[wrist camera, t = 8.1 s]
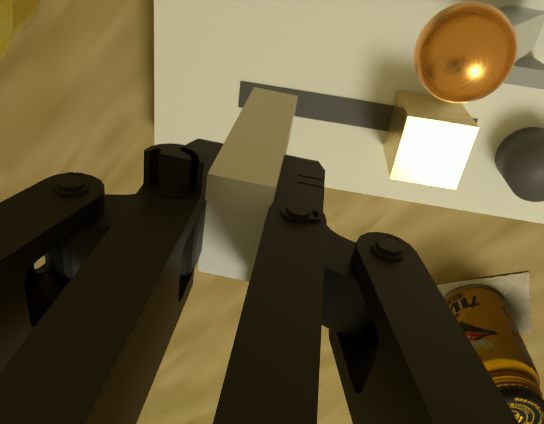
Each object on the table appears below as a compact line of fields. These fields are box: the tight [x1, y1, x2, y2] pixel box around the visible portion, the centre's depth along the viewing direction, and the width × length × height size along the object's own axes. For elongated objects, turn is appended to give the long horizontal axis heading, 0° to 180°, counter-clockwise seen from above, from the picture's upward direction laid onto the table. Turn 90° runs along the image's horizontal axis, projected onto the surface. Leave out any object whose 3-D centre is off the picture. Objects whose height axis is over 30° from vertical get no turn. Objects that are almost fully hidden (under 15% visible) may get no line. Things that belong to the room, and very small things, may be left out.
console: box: [154, 0, 544, 224], centre depth 29 cm, size 32×26×8 cm
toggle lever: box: [414, 1, 544, 103], centre depth 22 cm, size 4×4×14 cm
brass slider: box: [383, 90, 479, 190], centre depth 30 cm, size 4×4×5 cm
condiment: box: [437, 272, 544, 424], centre depth 39 cm, size 7×8×12 cm
